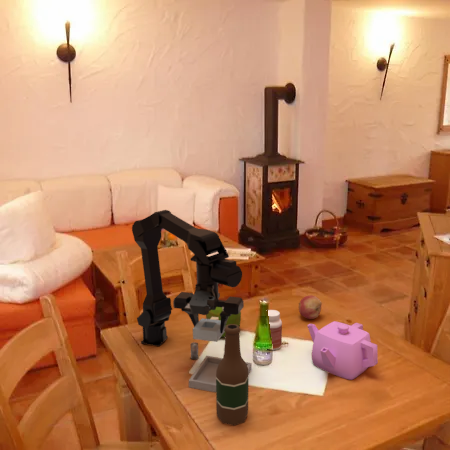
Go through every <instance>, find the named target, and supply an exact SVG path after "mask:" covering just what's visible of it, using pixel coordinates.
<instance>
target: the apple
mask: <svg viewBox="0 0 450 450" xmlns="http://www.w3.org/2000/svg"><path fill="white" fill-rule="evenodd" d="M222 311H223V309H222V307H216V309H215V310H211V311H209V313H208V314H207V315H205V319H211V317H219V320H221V316H220V313H221V312H222ZM241 311H242V310H241ZM241 311H240V313H239V314H237V315H234V314H232V315H231V316H229V317H228V320H227V323H226V325H229V324H236V325H238V326H239V327H240V325H241V320H242V312H241ZM226 325H225V327H226ZM220 338H225V332H224V333H223V335H222V336H221V337H220Z"/></svg>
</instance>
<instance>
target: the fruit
mask: <svg viewBox="0 0 450 450" xmlns="http://www.w3.org/2000/svg"><path fill="white" fill-rule="evenodd" d="M322 304H323V303H322V301H321V299H320V298H318V297H317V296H315V295H312V294H311V295H305V296H304V297H302V299H301V300H300V301H299V303H298V312H299V313H300V315H301V316H302V317H304V318H306V319H308V320H313V319H315V318H318V317H319V315H320V314H321V310H322Z"/></svg>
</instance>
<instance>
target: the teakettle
mask: <svg viewBox="0 0 450 450" xmlns="http://www.w3.org/2000/svg"><path fill="white" fill-rule="evenodd" d="M307 330H308V332H309V335H310V337H311V341H312V350H311V362H312V364H313V366H315V367H317V368H319V369H321V370H323V371H324V372H327V373H329V374H331V375H334V376H337V377H340V378H342V379H345V380H350V381H352V380H354V379H356V378H357V377H359V376H360V375H361V374H362V373H364V372H365V371H367V369H368V368H370V367H374V366H376V365H377V364H378V361H379V360H378V357H379V356H378V344H376V343H374V342H371V341H372V340H371V336H370V333H369V332H368V331H366V330H364V325H363V324H362V323H359V322H354V323H353V324H350V325H349V324H347V323H344V322H339V321H335V320H334V321H332V322H330V323H328V324H326V325H324V326H322V328H320V329H319V328H317V326H316V324H313V323H309V324H307Z"/></svg>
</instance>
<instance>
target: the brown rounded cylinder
mask: <svg viewBox="0 0 450 450" xmlns="http://www.w3.org/2000/svg"><path fill="white" fill-rule="evenodd" d="M190 359H191V360H193V361H195V360H198V359H199V343H198V342H195V341H193V342H191V343H190Z"/></svg>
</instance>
